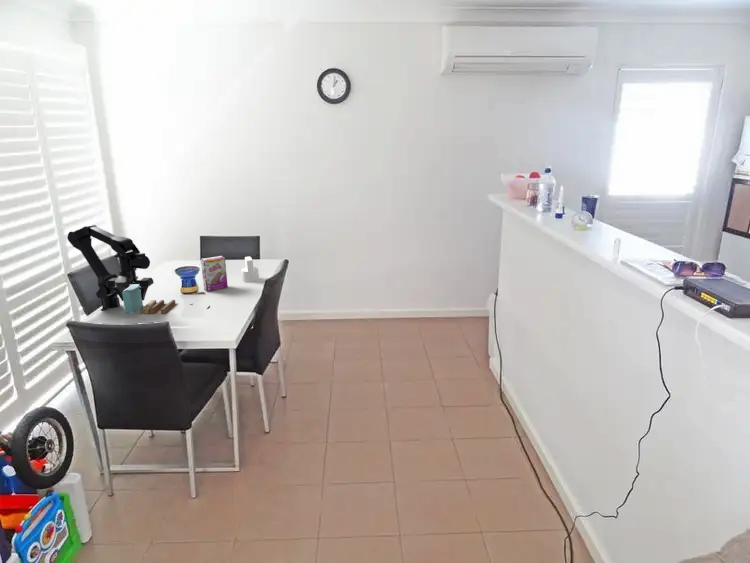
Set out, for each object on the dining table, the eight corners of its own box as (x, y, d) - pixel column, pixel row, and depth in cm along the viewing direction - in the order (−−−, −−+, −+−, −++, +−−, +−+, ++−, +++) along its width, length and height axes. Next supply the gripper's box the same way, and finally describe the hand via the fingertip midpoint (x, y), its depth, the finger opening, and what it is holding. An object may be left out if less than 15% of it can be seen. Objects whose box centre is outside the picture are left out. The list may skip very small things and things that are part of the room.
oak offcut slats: (142, 312, 223) (141, 307, 222) (152, 305, 232) (151, 300, 232) (148, 312, 223) (147, 307, 222) (158, 305, 232) (157, 299, 232)
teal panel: (125, 313, 223) (122, 292, 220) (136, 306, 233) (132, 285, 230) (132, 313, 223) (129, 292, 220) (143, 306, 233) (139, 285, 230)
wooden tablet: (211, 309, 230) (210, 306, 230) (187, 312, 227) (187, 309, 226) (207, 292, 254) (206, 289, 253) (186, 295, 250) (185, 292, 250)
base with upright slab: (260, 281, 270) (258, 259, 266) (243, 283, 266) (241, 261, 263) (257, 276, 278) (255, 255, 274) (241, 278, 274) (238, 257, 271)
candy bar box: (207, 292, 253) (203, 260, 248) (203, 289, 257) (200, 258, 252) (228, 287, 259) (225, 257, 254) (225, 285, 263) (221, 255, 258)
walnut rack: (139, 316, 221) (138, 310, 220) (153, 305, 235) (152, 299, 234) (166, 316, 221) (165, 309, 220) (179, 305, 234) (178, 299, 233)
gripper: (96, 272, 214) (103, 306, 219) (140, 272, 214) (145, 306, 219) (110, 265, 225) (116, 298, 230) (151, 265, 225) (156, 298, 229)
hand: (133, 300), depth 226 cm, fingers open, 9 cm apart
